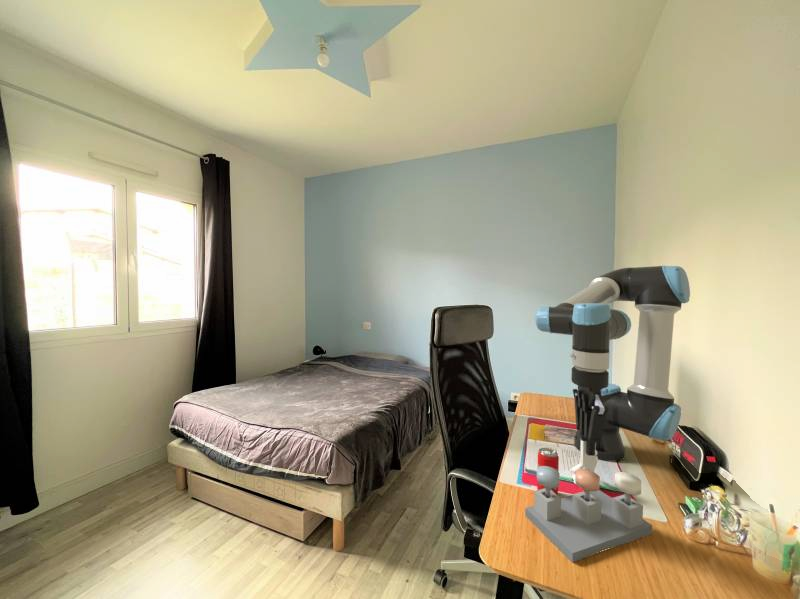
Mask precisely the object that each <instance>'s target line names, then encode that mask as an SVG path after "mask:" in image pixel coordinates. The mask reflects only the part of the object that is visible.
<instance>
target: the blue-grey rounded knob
mask: <svg viewBox="0 0 800 599" xmlns="http://www.w3.org/2000/svg"><path fill="white" fill-rule="evenodd" d="M537 481H538V482H539V483H540V484H541V485H543V486H545V497H546V498H550V488H556V487H558V488H559V486H560V472H559V470H558V471H557V470H555V469H554V468H551V467H548V466H539V467H538V466H537V468H536V482H537Z"/></svg>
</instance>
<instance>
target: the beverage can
mask: <svg viewBox="0 0 800 599" xmlns="http://www.w3.org/2000/svg"><path fill="white" fill-rule="evenodd" d="M559 460H560V457H559V454H558V452H557V451H556V450H554V449H553V448H549V447H541V448H539V449H538V451H537V468H538V467H539V466H548V467H551V468H554V469H555V470H557V471H558V472H559V465H560V464H559ZM536 482H537V483H536V487H537V490H540V489H544V488H545V486H543V485H541V484H540V483H539V482H538V481H537V480H536ZM550 490H552V491H553V492H554V493H555V494H557V495H558V496H559V486H558V487H556V488H550Z"/></svg>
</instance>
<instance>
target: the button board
mask: <svg viewBox="0 0 800 599" xmlns="http://www.w3.org/2000/svg"><path fill="white" fill-rule="evenodd" d="M533 491H534V496H533V497H534V501H533V505H532V506H531V505H530V506H527V507H525V509H524V510H525V513H524V514H525V515H524V516H525V517H526V518H527V519H528V520H529V522H531V523H532V524H533V525H534V526H535V527H536V528H537V529H538V530H539V531H540V532H541V533H542V534H543V535H544V536H545V537H546V538H547V539H548V540H549V541H550V542H551V543H552V544H553V545H554V546H555V547H556V548H557V549H558V550H559V551H560V552H561V553H562V554H563V555H564V556H565V557H566V558H567V559H568V560H569V561H570V562H571V563H575V562H578V561H580V560H583V558H584V559H586V558H589V557H591V556H590V555H592V556H594V555H593V554H595V555H596V553H597V552H600V551H602V550H605V549H608V548H611V549H613V548H612V547H614V548H616V547H615V546H617V547H619V546H622V545H625V544H627V543H631V542H632V541H636V540H638V539H641V538H644V537H647V536H651V535H652V534H653V525H652V524H651V523H649V522H648V521H647V520H645V519H644V505H643V504H641V503H639V502H638V501H636V500H635V499H633V498H632V497H631V505H630V506H628V505H627V504H625V503H624V494H621V495H618V496H615V497H611V496H609V495H608V494H606V493H604V492H603V491H602V490H600V489H599V490H598V491H590V501H589V502H587V501H585V500H584V490H583V491H580V492H577V493H573V494H572V495H568V496H564V497H561V496H560V495H559V494H558V495H557V494H555V493H554V492H553V491H552V490H550V498H546V497H545V488H544V489H540V490H533ZM618 545H619V546H618ZM608 550H609V549H608ZM600 553H601V552H600ZM597 554H598V553H597ZM588 556H589V557H588ZM585 557H586V558H585Z"/></svg>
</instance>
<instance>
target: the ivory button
mask: <svg viewBox="0 0 800 599" xmlns="http://www.w3.org/2000/svg"><path fill="white" fill-rule="evenodd" d="M614 487H616V489H618V490H619V491H620V492H623V493H624V494H623V495H624V503H625V504H627V505H628V506H630V505H631V498H632V496H639V495H641V494H642V480H641V479H640V478H639V477H638V476H636V475H634V474H632V473H629V472H624V471H617V472H615V474H614ZM631 495H632V496H631Z"/></svg>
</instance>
